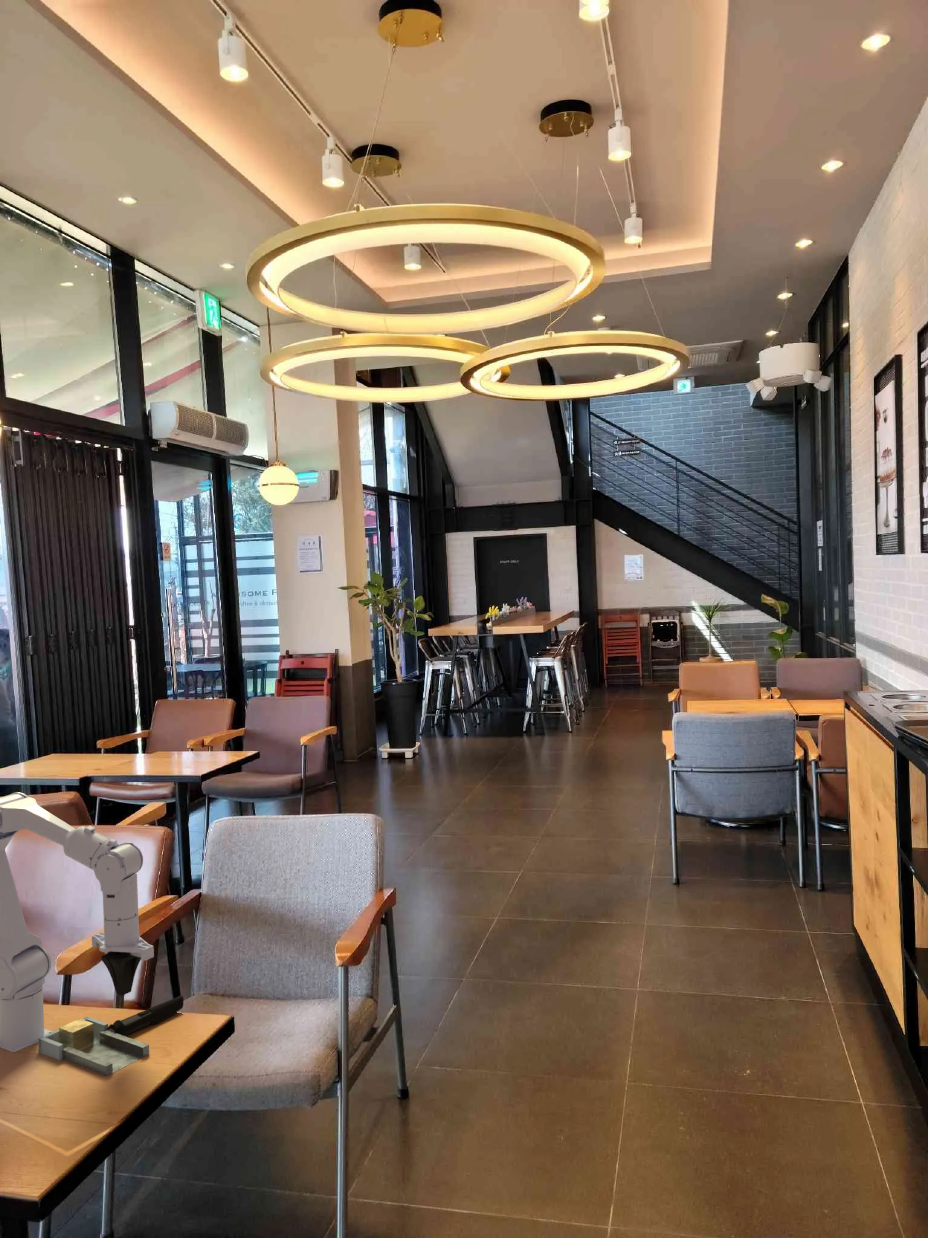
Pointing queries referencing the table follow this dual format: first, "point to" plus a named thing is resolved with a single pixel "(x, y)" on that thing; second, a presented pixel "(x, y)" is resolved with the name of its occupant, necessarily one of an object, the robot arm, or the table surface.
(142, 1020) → the electric trimmer
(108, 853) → the robot arm
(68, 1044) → the yellow cube
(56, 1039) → the tray
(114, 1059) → the slot bed
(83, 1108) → the table surface
